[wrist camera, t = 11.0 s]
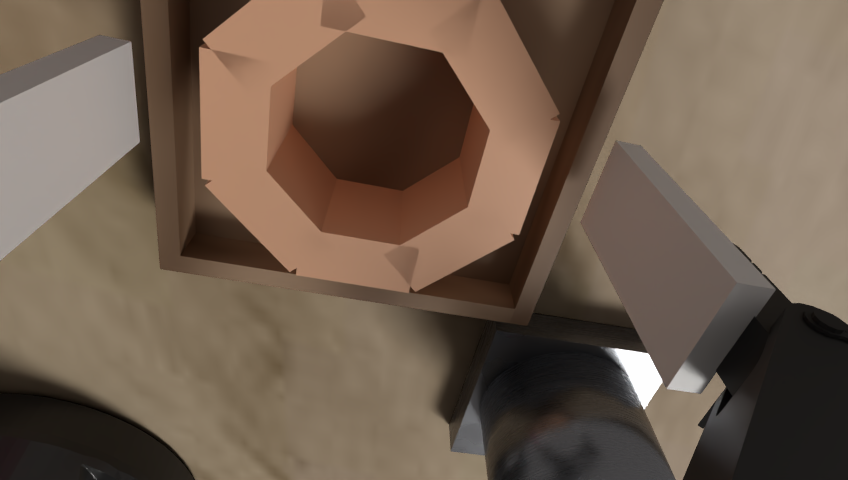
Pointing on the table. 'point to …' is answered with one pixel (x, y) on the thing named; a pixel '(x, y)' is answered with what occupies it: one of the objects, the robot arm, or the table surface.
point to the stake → (560, 403)
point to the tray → (392, 140)
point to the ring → (361, 203)
